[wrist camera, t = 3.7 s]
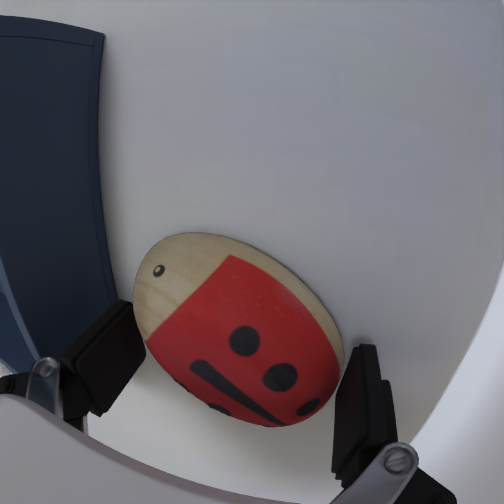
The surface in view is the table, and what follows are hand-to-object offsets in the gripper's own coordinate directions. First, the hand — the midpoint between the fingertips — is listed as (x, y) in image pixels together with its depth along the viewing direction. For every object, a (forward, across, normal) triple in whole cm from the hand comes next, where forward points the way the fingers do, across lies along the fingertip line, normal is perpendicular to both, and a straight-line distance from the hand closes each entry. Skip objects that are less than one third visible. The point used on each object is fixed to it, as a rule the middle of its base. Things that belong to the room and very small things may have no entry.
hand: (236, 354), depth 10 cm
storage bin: (+2, +15, -4) cm, 16 cm away
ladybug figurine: (+2, 0, 0) cm, 2 cm away
